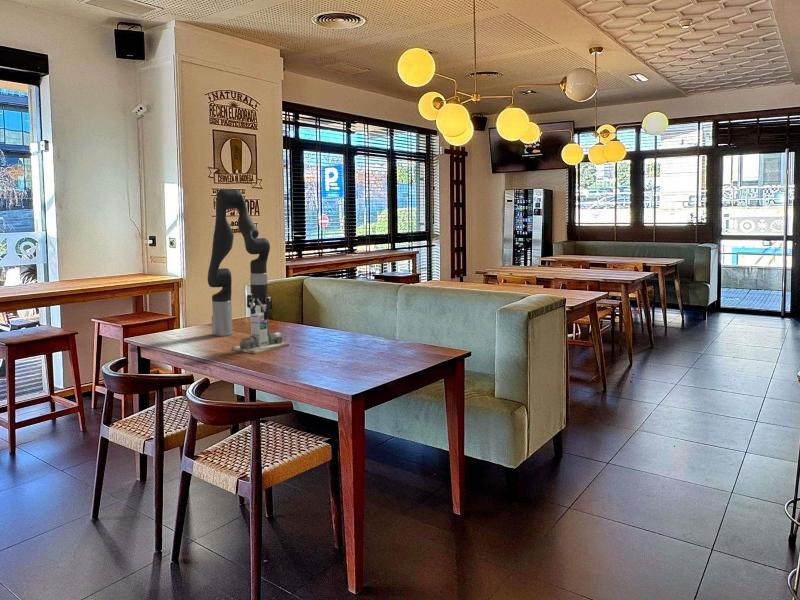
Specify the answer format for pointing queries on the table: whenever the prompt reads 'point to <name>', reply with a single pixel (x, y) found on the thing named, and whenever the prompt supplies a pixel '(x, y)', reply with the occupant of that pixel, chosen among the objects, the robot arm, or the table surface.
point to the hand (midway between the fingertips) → (259, 318)
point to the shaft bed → (251, 347)
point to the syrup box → (260, 329)
